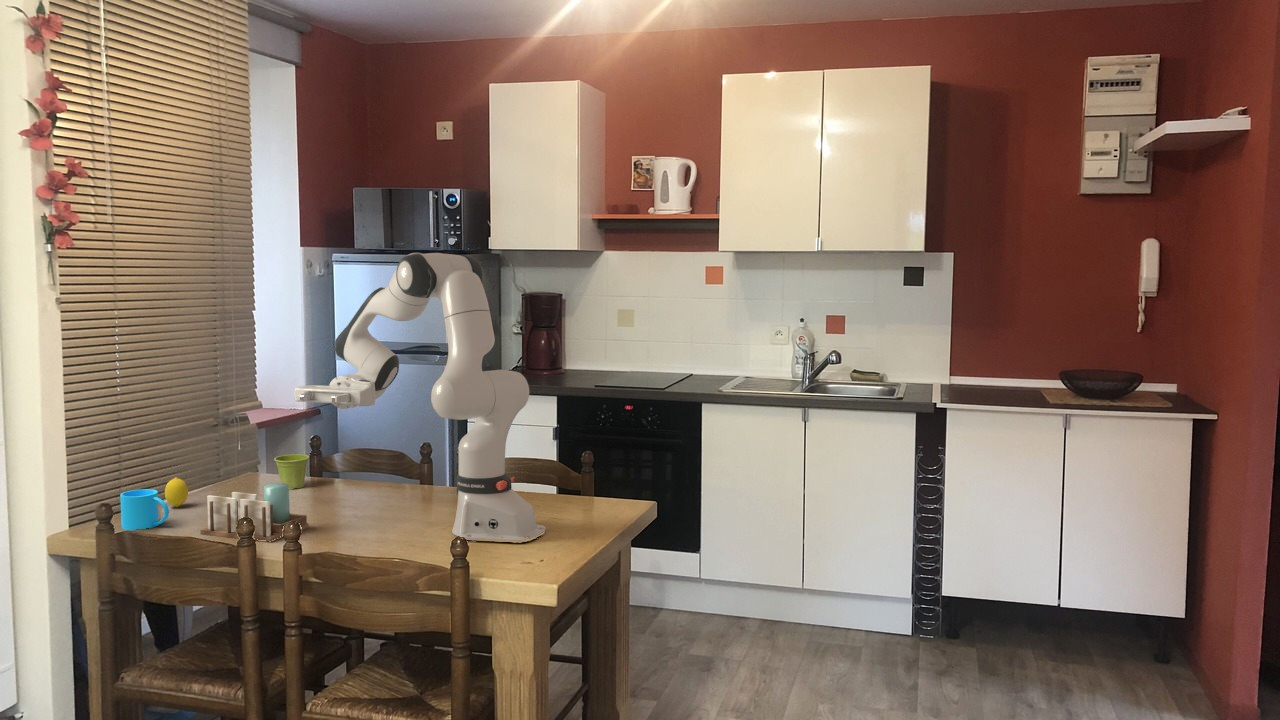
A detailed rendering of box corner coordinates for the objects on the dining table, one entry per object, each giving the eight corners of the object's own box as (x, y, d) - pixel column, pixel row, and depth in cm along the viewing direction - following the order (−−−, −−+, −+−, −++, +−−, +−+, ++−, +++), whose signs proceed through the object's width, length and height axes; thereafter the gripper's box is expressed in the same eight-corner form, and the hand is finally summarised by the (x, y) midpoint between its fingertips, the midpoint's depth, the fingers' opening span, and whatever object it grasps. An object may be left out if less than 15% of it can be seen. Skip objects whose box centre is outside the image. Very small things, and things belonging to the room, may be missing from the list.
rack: (308, 527, 246) (307, 491, 245) (270, 542, 233) (269, 504, 232) (241, 519, 252) (240, 484, 251) (200, 534, 239) (199, 496, 238)
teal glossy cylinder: (295, 524, 244) (293, 484, 243) (279, 530, 239) (277, 489, 238) (276, 521, 246) (275, 482, 245) (260, 528, 241) (258, 487, 240)
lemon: (169, 511, 260) (167, 480, 259) (162, 507, 264) (161, 477, 263) (191, 507, 263) (190, 477, 262) (184, 503, 267) (183, 474, 267)
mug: (113, 529, 243) (112, 496, 242) (137, 520, 251) (136, 488, 250) (157, 532, 240) (156, 499, 239) (180, 523, 248) (178, 491, 247)
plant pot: (300, 491, 282) (300, 461, 282) (269, 490, 284) (268, 460, 283) (315, 484, 292) (314, 454, 291) (284, 483, 293) (284, 453, 292)
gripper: (310, 378, 270) (280, 384, 257) (379, 381, 265) (353, 388, 252) (311, 401, 271) (281, 409, 258) (380, 405, 266) (353, 413, 253)
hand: (317, 398), depth 255 cm, fingers open, 8 cm apart
